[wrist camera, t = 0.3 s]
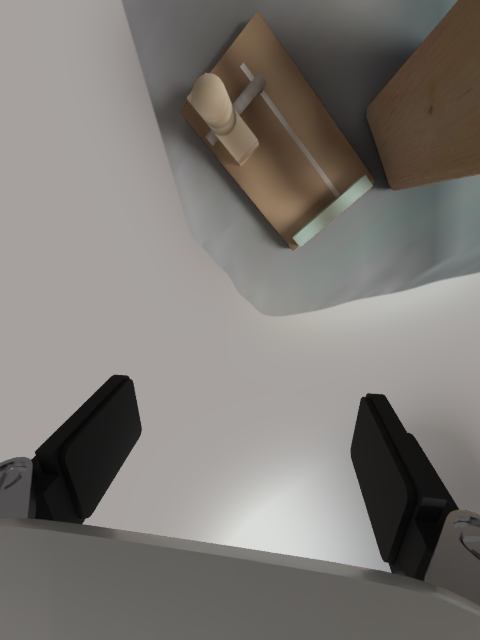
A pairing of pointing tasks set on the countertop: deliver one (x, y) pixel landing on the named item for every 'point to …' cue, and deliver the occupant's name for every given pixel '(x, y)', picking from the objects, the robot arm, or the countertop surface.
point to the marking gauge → (226, 114)
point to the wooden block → (433, 106)
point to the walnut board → (285, 140)
